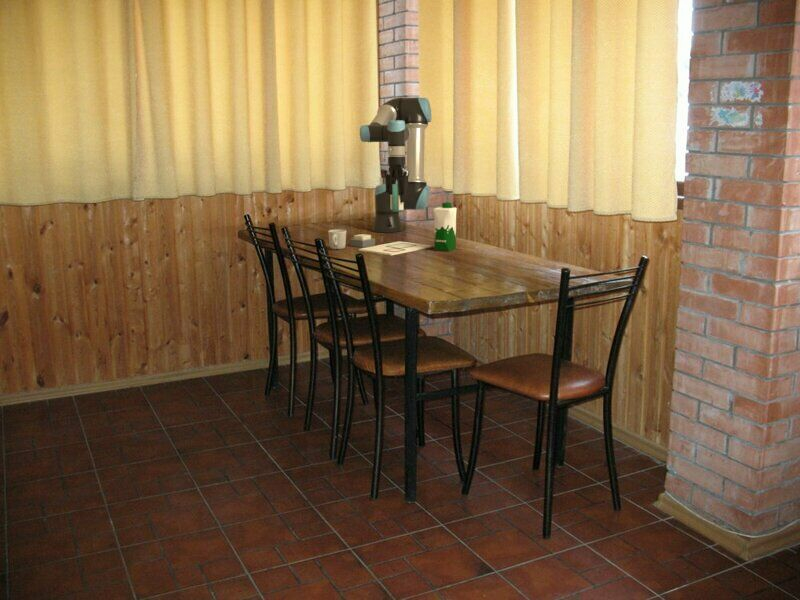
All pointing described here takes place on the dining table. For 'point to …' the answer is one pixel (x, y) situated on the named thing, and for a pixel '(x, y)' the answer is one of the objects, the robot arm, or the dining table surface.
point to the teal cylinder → (395, 198)
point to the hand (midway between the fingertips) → (396, 209)
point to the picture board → (395, 248)
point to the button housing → (362, 242)
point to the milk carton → (445, 227)
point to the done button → (362, 237)
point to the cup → (337, 238)
